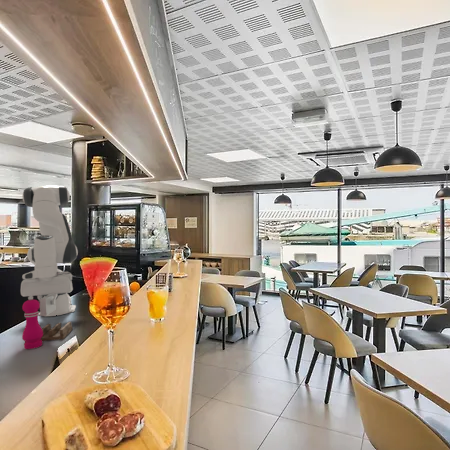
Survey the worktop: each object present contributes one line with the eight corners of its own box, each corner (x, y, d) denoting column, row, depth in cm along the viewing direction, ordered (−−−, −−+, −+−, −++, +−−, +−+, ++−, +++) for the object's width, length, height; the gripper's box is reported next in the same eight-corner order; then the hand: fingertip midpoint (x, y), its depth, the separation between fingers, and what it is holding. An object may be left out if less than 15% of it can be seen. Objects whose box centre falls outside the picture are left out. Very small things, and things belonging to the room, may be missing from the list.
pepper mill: (20, 350, 130) (17, 298, 131) (25, 344, 137) (23, 295, 138) (41, 347, 132) (38, 296, 132) (45, 342, 139) (42, 293, 139)
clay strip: (50, 309, 153) (49, 294, 154) (55, 309, 154) (55, 293, 154) (40, 316, 142) (39, 299, 142) (46, 315, 142) (45, 298, 142)
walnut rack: (37, 332, 154) (37, 324, 154) (72, 329, 156) (72, 321, 156) (24, 343, 140) (24, 333, 140) (63, 338, 142) (62, 330, 142)
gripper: (73, 270, 153) (75, 301, 153) (24, 274, 150) (26, 305, 149) (69, 271, 147) (71, 304, 146) (18, 275, 143) (19, 308, 143)
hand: (48, 304), depth 148 cm, fingers closed on clay strip, 2 cm apart
